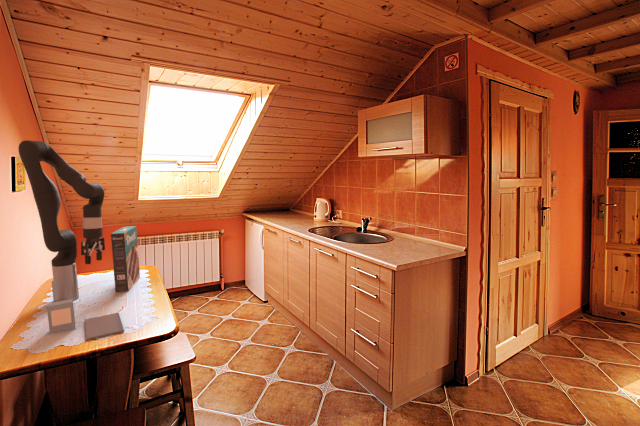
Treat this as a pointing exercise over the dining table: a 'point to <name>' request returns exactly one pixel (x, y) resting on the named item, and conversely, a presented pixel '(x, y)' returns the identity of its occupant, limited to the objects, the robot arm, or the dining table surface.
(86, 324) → the slate board
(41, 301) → the dining table surface
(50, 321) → the slab
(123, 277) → the cake mix box
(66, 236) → the robot arm
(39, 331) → the dining table surface
